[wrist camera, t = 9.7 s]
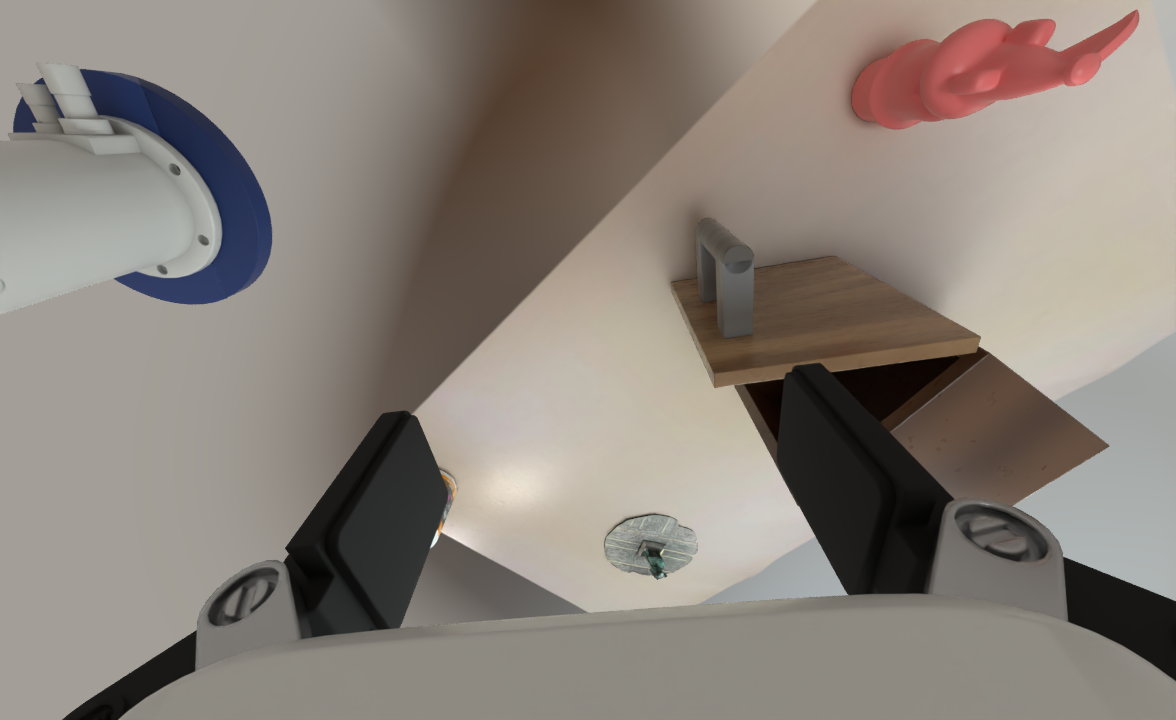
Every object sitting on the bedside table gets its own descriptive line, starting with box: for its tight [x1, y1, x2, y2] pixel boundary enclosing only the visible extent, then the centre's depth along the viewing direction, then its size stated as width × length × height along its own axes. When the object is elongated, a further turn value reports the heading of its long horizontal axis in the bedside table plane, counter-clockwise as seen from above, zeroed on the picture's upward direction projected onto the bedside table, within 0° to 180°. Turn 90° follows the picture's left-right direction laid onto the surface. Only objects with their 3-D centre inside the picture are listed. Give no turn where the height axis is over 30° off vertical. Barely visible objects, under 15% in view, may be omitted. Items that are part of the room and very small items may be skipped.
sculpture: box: [605, 515, 698, 580], centre depth 55 cm, size 12×9×8 cm
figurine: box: [852, 10, 1139, 129], centre depth 24 cm, size 5×5×15 cm
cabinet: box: [734, 346, 1109, 506], centre depth 34 cm, size 12×14×16 cm
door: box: [671, 218, 981, 388], centre depth 29 cm, size 7×14×16 cm, turn 100°
